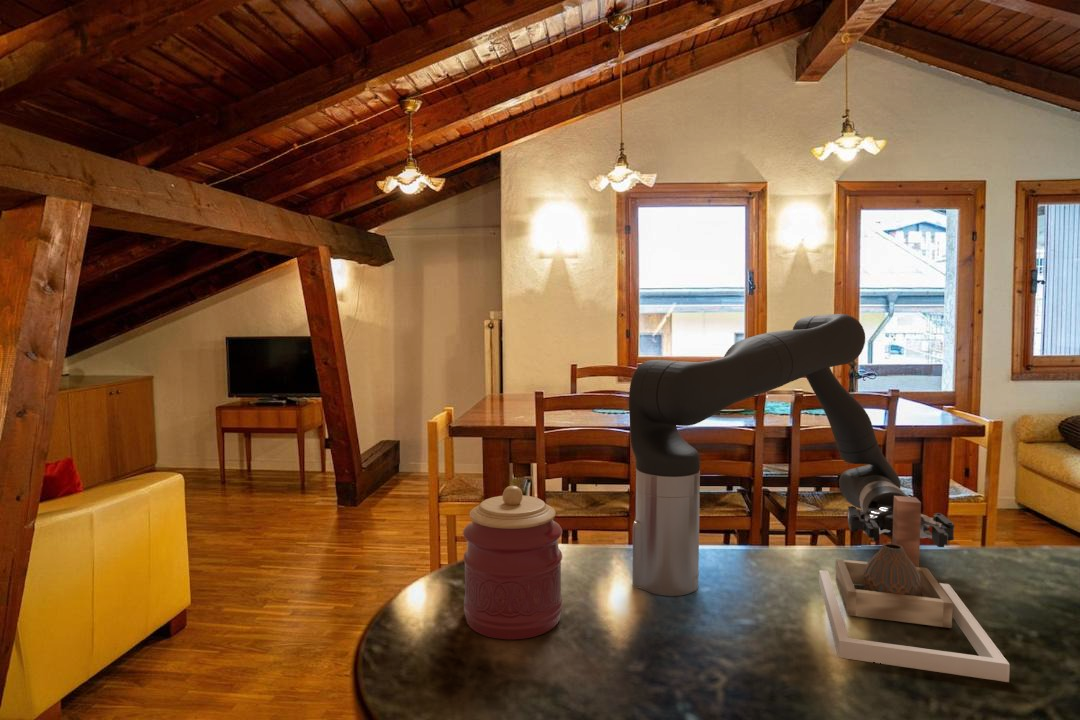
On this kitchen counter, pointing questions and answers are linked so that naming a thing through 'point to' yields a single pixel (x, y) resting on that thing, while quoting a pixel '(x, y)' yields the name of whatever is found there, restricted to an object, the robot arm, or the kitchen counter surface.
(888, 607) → the square wooden tray
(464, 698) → the kitchen counter surface
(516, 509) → the canister
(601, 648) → the kitchen counter surface
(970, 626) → the rail lane
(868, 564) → the vase
